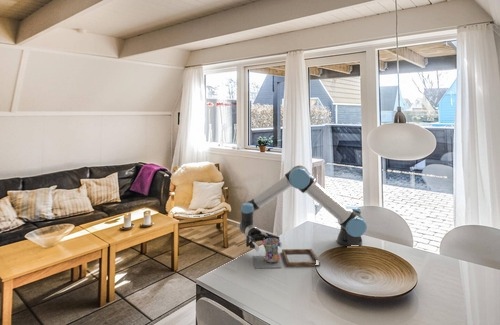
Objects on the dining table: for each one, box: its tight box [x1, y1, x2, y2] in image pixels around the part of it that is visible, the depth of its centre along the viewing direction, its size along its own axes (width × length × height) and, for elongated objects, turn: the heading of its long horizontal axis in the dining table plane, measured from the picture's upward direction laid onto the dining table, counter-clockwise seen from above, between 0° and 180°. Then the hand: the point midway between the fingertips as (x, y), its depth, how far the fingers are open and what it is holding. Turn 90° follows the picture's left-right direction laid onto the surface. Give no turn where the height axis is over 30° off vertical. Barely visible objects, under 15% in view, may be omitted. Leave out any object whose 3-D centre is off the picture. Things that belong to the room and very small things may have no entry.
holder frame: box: [281, 248, 319, 268], centre depth 163 cm, size 17×17×2 cm
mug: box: [261, 238, 281, 262], centre depth 160 cm, size 12×9×11 cm
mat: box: [252, 255, 282, 270], centre depth 159 cm, size 14×14×1 cm
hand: (269, 247), depth 154 cm, fingers open, 13 cm apart
